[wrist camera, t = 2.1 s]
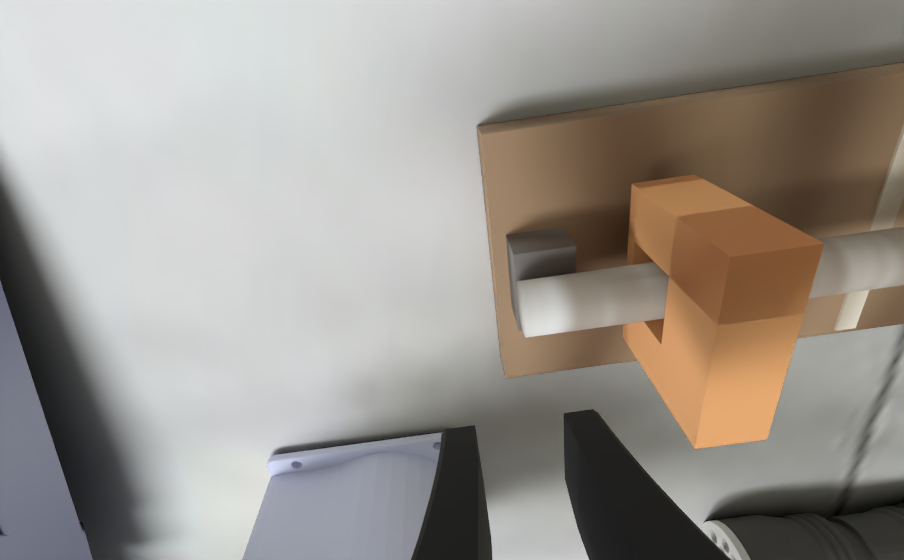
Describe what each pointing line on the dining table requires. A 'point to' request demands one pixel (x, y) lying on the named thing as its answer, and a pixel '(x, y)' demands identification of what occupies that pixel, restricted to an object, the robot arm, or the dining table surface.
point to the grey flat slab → (30, 467)
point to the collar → (718, 305)
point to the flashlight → (812, 536)
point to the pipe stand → (719, 162)
